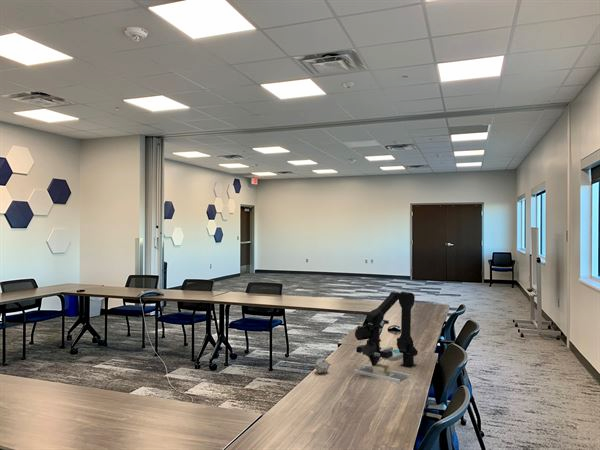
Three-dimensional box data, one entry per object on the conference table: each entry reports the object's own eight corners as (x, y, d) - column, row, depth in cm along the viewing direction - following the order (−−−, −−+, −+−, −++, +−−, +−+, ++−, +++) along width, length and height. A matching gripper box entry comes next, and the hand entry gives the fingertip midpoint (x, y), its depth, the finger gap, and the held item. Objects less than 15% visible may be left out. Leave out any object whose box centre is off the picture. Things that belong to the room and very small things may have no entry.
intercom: (364, 353, 244) (389, 344, 262) (364, 360, 244) (389, 352, 262) (383, 357, 235) (408, 348, 252) (383, 365, 235) (408, 356, 252)
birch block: (379, 372, 222) (379, 363, 222) (389, 374, 218) (389, 365, 218) (373, 375, 218) (372, 366, 218) (383, 377, 213) (383, 368, 214)
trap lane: (365, 367, 231) (365, 364, 231) (410, 377, 214) (410, 374, 214) (353, 372, 223) (353, 369, 223) (399, 383, 206) (399, 380, 206)
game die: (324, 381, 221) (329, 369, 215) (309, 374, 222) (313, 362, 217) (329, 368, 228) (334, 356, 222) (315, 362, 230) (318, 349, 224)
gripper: (349, 337, 222) (350, 368, 221) (381, 343, 209) (381, 376, 209) (362, 334, 230) (362, 363, 230) (393, 339, 217) (393, 370, 217)
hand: (374, 368), depth 221 cm, fingers closed
